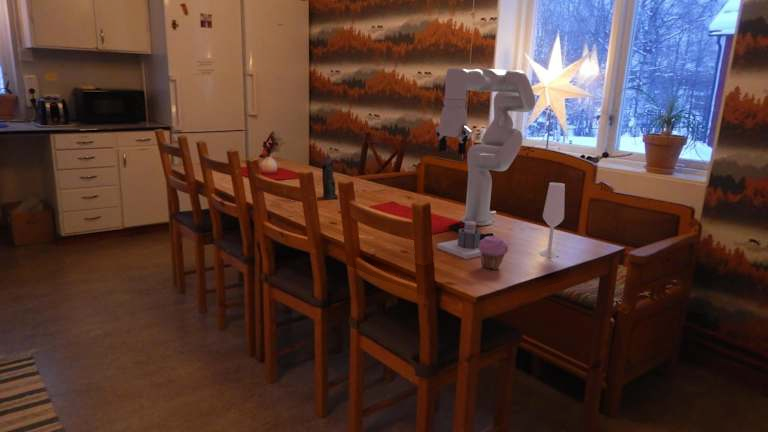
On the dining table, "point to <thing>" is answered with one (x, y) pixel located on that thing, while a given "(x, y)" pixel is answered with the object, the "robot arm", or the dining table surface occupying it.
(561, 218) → the champagne flute
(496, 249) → the cupcake
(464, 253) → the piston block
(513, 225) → the dining table surface
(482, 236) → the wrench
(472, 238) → the steel ring
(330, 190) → the statue
